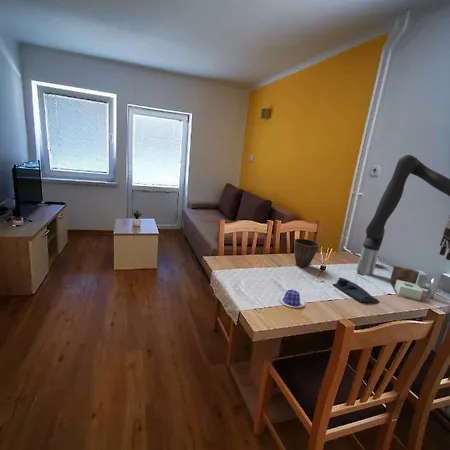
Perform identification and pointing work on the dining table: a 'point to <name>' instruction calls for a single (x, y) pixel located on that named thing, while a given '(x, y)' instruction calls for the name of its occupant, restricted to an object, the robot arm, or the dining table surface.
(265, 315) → the dining table surface
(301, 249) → the plant pot
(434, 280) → the steel peg
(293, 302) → the checked sun hat
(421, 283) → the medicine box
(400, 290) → the sliding block
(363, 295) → the dark folded cloth
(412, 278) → the track and wall
